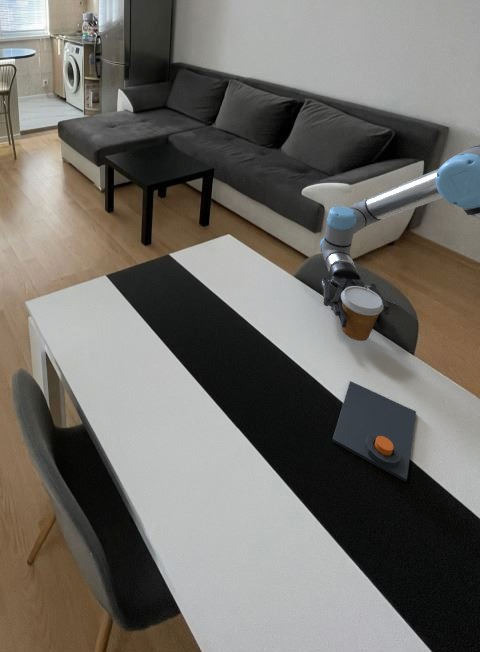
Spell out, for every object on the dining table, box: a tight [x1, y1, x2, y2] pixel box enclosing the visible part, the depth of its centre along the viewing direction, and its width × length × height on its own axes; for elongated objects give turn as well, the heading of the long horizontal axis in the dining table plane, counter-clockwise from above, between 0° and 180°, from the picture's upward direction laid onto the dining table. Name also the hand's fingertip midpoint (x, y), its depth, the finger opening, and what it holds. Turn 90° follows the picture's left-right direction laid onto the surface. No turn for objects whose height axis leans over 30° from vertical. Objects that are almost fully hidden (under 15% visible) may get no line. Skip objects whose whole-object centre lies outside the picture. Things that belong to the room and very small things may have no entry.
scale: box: [331, 380, 417, 483], centre depth 94 cm, size 18×13×4 cm
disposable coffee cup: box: [340, 286, 384, 342], centre depth 114 cm, size 10×10×12 cm
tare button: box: [375, 436, 394, 456], centre depth 88 cm, size 3×3×2 cm
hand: (364, 326), depth 110 cm, fingers closed on disposable coffee cup, 8 cm apart
